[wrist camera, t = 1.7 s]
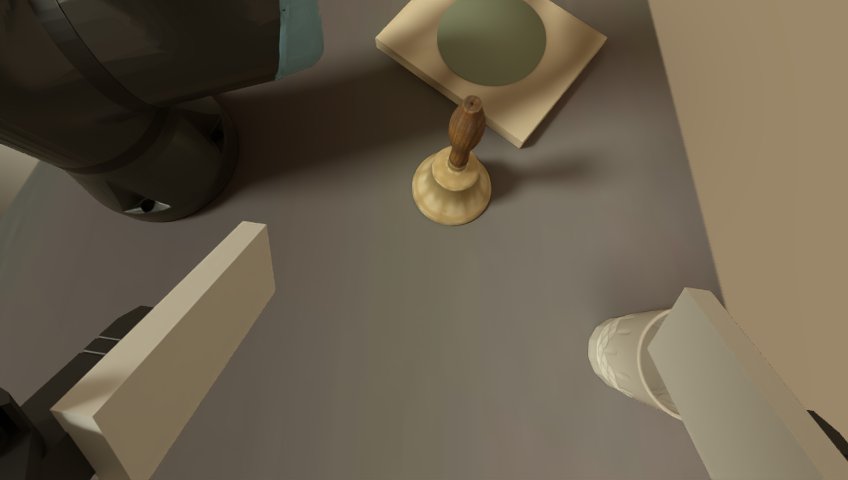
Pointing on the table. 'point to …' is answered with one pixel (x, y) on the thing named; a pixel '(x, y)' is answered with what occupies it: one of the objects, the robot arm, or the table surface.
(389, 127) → the table surface
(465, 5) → the bell board
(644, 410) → the table surface
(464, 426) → the table surface
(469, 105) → the hand bell
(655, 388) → the white cup
